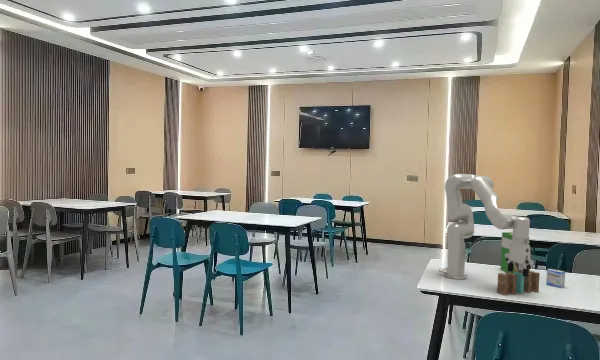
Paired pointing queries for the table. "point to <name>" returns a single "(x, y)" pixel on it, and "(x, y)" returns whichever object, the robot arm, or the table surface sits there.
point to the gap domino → (519, 282)
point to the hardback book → (506, 250)
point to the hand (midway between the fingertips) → (517, 273)
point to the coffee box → (519, 267)
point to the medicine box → (555, 278)
